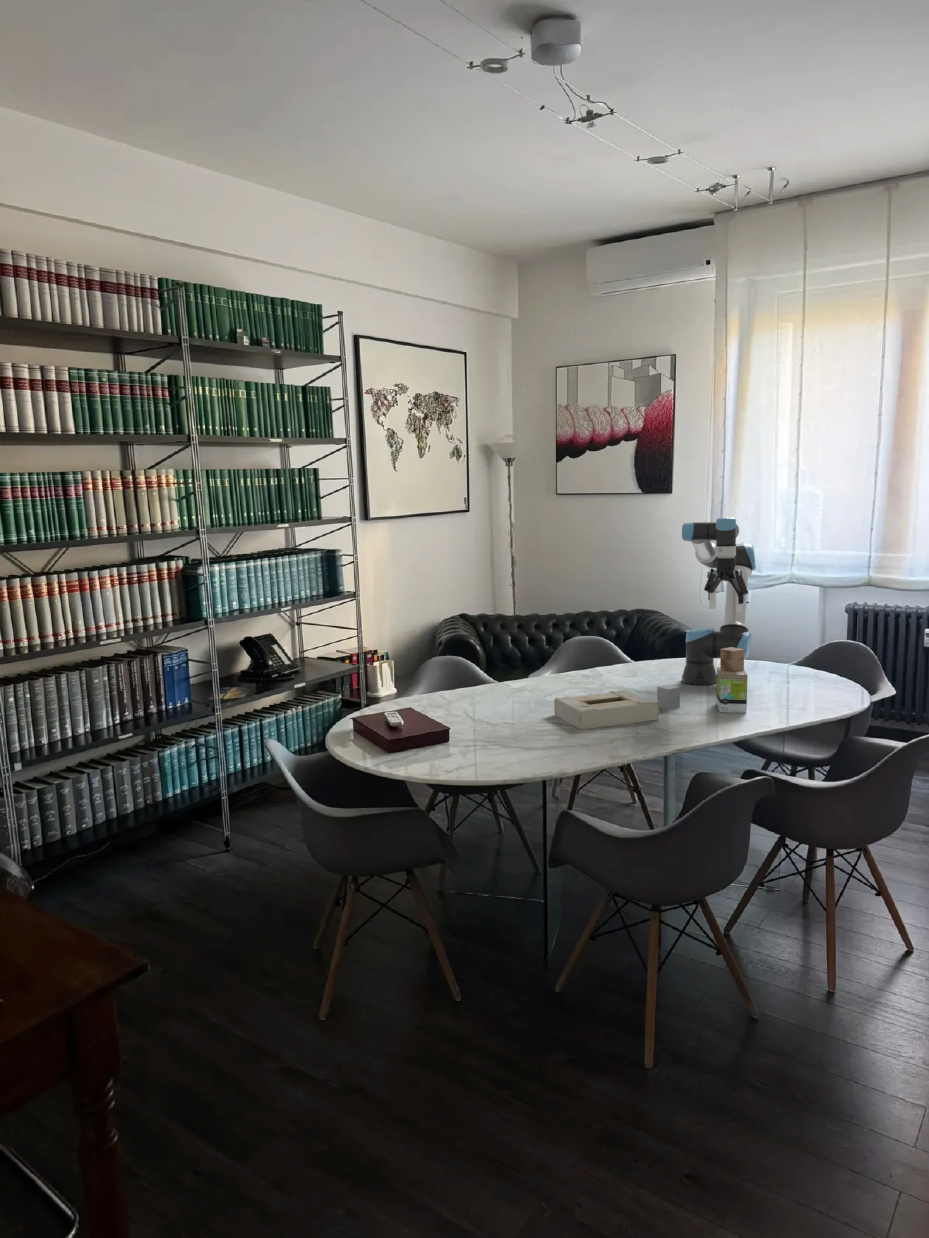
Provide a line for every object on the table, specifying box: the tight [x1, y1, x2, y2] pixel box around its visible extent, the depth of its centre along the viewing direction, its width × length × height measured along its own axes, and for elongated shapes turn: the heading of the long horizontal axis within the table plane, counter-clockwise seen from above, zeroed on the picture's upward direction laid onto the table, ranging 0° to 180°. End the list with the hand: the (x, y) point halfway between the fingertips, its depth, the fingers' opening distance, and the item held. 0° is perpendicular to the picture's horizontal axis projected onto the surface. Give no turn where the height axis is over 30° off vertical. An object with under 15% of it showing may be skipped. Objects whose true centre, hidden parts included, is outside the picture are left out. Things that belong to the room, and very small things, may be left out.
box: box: [553, 689, 660, 730], centre depth 318 cm, size 23×8×32 cm
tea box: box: [716, 666, 748, 714], centre depth 324 cm, size 15×10×15 cm
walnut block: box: [719, 647, 745, 672], centre depth 323 cm, size 6×6×8 cm
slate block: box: [656, 684, 681, 710], centre depth 330 cm, size 6×6×8 cm
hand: (725, 610), depth 340 cm, fingers open, 13 cm apart
